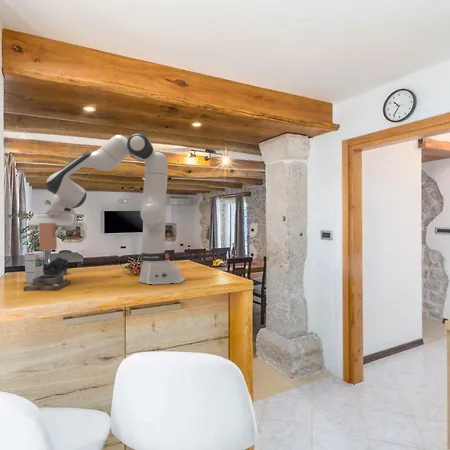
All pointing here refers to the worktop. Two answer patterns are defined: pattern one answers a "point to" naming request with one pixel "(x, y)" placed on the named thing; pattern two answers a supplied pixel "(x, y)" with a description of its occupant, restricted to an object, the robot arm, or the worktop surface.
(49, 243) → the terracotta tower block
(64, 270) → the crystal cluster
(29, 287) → the walnut base board
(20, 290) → the worktop surface
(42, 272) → the syrup box
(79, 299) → the worktop surface
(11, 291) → the worktop surface
